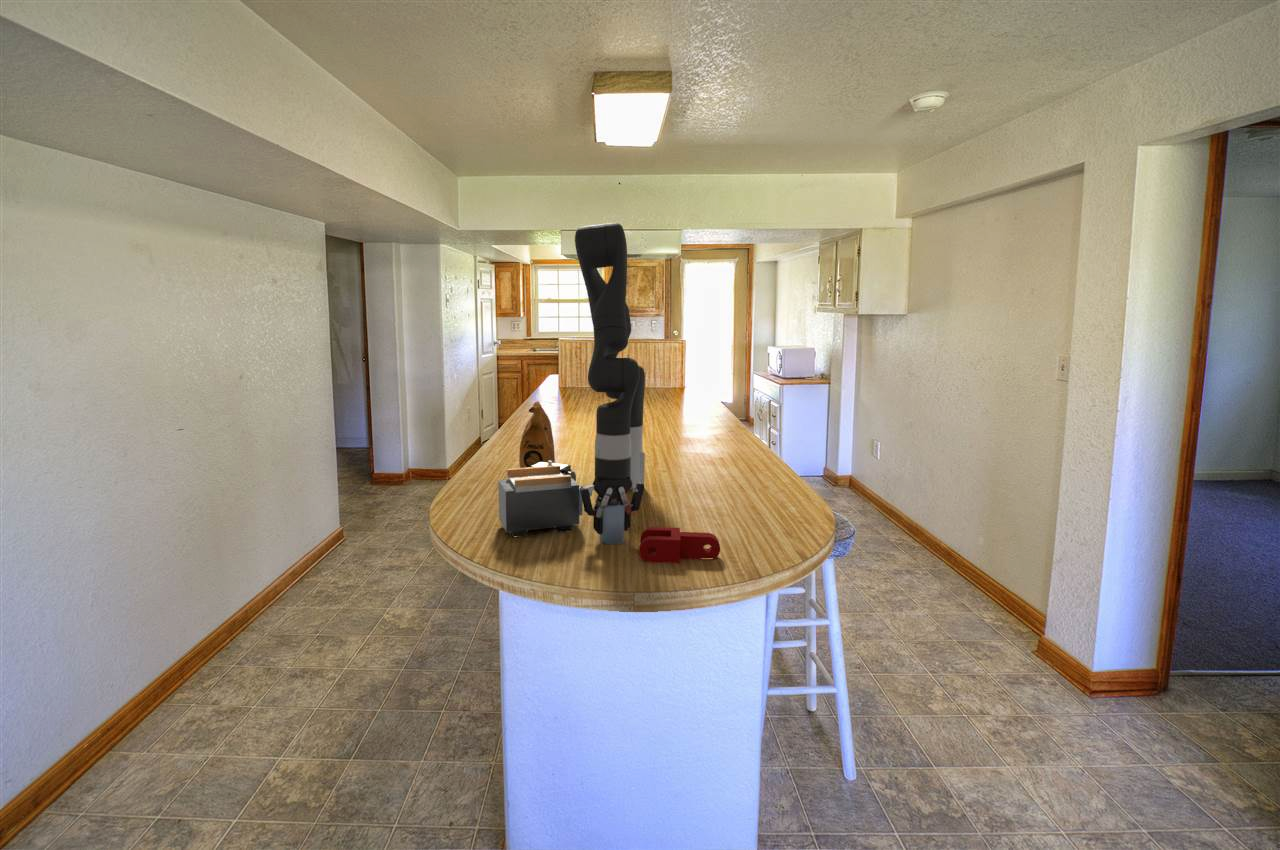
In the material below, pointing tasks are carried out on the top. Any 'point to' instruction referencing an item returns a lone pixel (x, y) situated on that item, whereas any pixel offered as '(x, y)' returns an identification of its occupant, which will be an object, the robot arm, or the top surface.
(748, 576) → the top surface
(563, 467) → the pneumatic valve
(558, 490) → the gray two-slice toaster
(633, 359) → the robot arm
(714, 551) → the mechanical linkage
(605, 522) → the blue-gray bottle
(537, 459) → the coffee package
